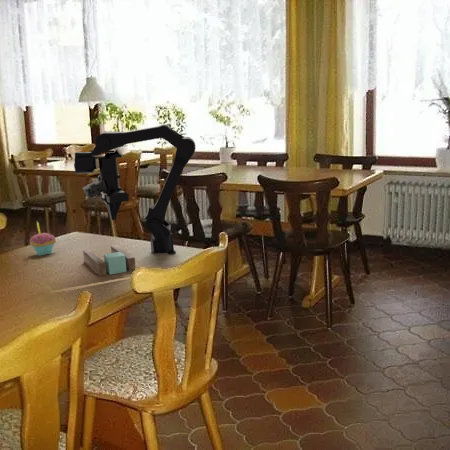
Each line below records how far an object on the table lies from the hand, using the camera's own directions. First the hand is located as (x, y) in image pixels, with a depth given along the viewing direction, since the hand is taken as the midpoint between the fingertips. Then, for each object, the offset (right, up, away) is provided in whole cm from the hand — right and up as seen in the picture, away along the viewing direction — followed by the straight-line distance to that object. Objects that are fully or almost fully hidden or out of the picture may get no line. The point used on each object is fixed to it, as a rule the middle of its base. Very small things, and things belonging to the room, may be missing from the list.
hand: (113, 219), depth 210 cm
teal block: (+4, -15, -17) cm, 23 cm away
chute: (+1, -15, -10) cm, 18 cm away
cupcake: (-25, -12, +10) cm, 30 cm away
